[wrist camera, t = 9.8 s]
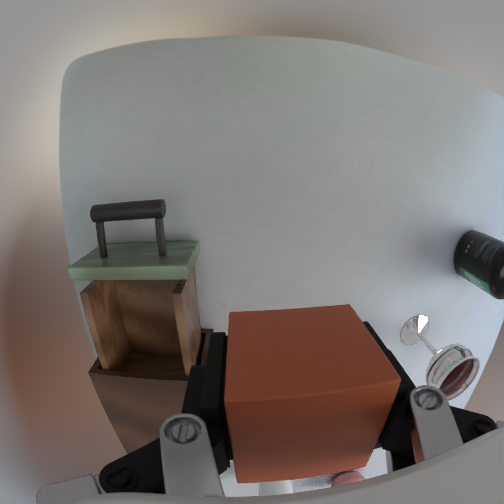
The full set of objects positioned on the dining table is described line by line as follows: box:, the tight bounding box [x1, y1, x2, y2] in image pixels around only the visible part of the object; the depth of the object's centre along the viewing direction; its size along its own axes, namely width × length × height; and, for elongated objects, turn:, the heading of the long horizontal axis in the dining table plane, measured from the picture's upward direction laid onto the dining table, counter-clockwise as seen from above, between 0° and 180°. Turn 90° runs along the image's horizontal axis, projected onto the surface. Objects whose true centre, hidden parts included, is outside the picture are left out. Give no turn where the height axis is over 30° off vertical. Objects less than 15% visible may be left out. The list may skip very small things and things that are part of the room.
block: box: [224, 304, 401, 483], centre depth 9 cm, size 4×4×4 cm
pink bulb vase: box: [331, 472, 365, 487], centre depth 41 cm, size 8×8×12 cm
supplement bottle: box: [454, 231, 504, 299], centre depth 27 cm, size 7×7×12 cm
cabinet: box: [89, 329, 213, 454], centre depth 32 cm, size 16×13×10 cm
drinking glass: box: [259, 480, 294, 496], centre depth 37 cm, size 7×7×15 cm
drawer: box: [68, 199, 203, 376], centre depth 28 cm, size 20×11×8 cm, turn 1°
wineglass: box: [401, 315, 480, 401], centre depth 30 cm, size 7×7×12 cm
